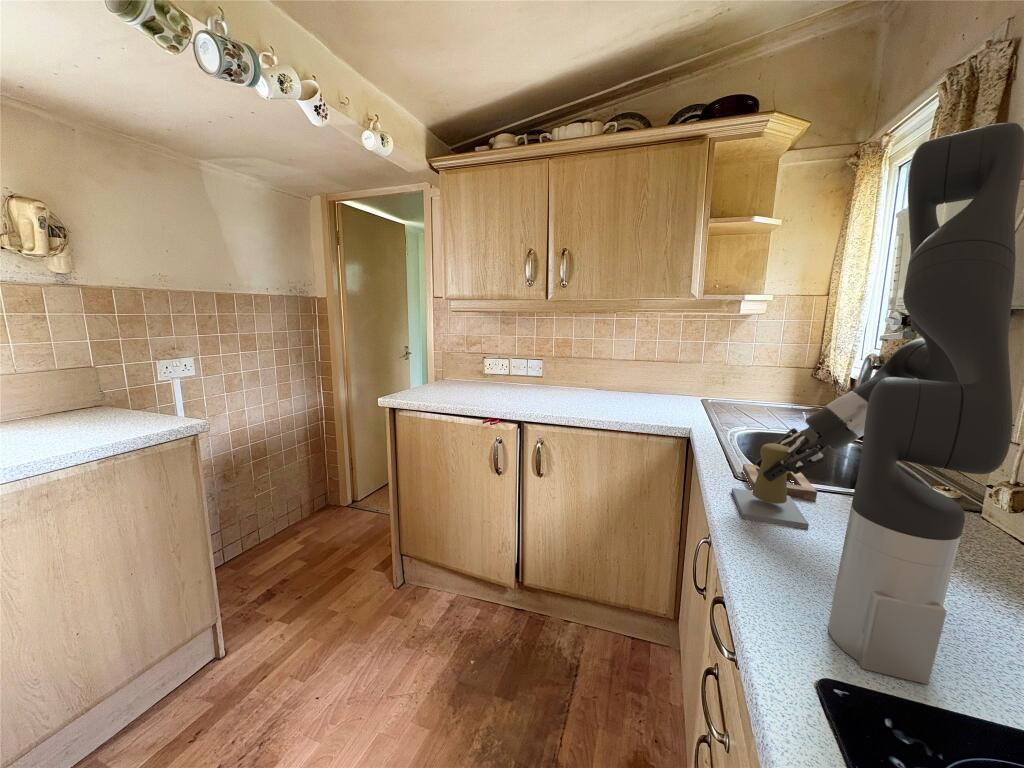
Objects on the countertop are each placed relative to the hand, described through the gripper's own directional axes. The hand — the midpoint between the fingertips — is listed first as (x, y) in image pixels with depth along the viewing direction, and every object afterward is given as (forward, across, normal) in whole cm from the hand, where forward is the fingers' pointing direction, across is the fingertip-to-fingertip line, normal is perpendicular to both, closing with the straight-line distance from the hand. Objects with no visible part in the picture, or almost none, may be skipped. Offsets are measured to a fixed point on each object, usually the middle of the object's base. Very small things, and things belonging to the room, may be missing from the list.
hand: (762, 471), depth 83 cm
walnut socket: (+1, -14, +10) cm, 17 cm away
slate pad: (+4, 0, +7) cm, 8 cm away
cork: (+2, 0, +5) cm, 6 cm away
